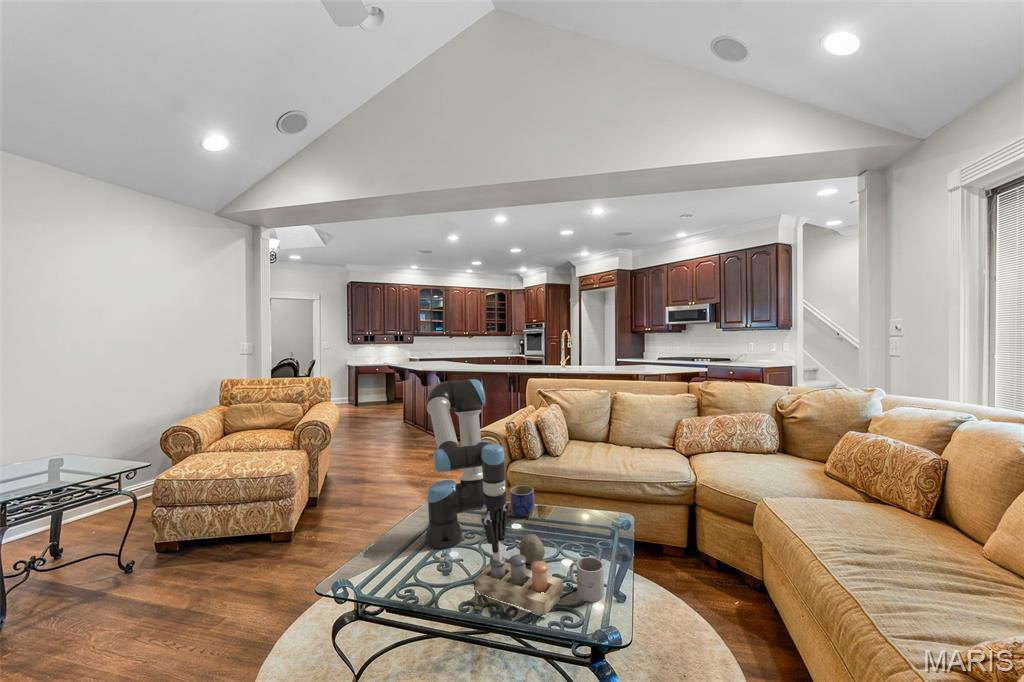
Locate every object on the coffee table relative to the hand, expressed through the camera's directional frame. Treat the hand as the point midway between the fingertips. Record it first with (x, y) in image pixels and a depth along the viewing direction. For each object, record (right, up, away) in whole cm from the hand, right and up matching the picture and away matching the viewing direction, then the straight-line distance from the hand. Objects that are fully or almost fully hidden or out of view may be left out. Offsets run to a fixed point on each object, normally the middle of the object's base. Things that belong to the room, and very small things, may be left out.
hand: (497, 559), depth 152 cm
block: (+7, -10, -3) cm, 12 cm away
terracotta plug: (+14, -5, -8) cm, 17 cm away
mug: (+30, -9, -3) cm, 31 cm away
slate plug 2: (+7, -5, -4) cm, 9 cm away
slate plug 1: (0, -7, +1) cm, 7 cm away
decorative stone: (+12, -8, +15) cm, 21 cm away
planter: (+10, -5, +54) cm, 55 cm away
